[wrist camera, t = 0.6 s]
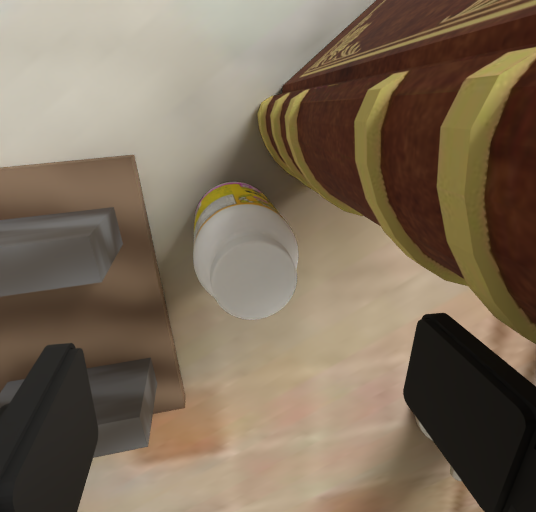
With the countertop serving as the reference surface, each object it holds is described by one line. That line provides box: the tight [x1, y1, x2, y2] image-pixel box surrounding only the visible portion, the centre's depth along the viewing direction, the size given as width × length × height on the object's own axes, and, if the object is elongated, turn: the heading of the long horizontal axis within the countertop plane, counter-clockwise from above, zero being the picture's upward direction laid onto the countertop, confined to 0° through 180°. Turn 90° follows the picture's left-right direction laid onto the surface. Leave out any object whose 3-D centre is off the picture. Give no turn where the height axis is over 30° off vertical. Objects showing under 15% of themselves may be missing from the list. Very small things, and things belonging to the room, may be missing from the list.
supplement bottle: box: [193, 182, 298, 320], centre depth 25 cm, size 7×7×13 cm
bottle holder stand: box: [0, 155, 185, 458], centre depth 28 cm, size 24×16×8 cm, turn 5°
